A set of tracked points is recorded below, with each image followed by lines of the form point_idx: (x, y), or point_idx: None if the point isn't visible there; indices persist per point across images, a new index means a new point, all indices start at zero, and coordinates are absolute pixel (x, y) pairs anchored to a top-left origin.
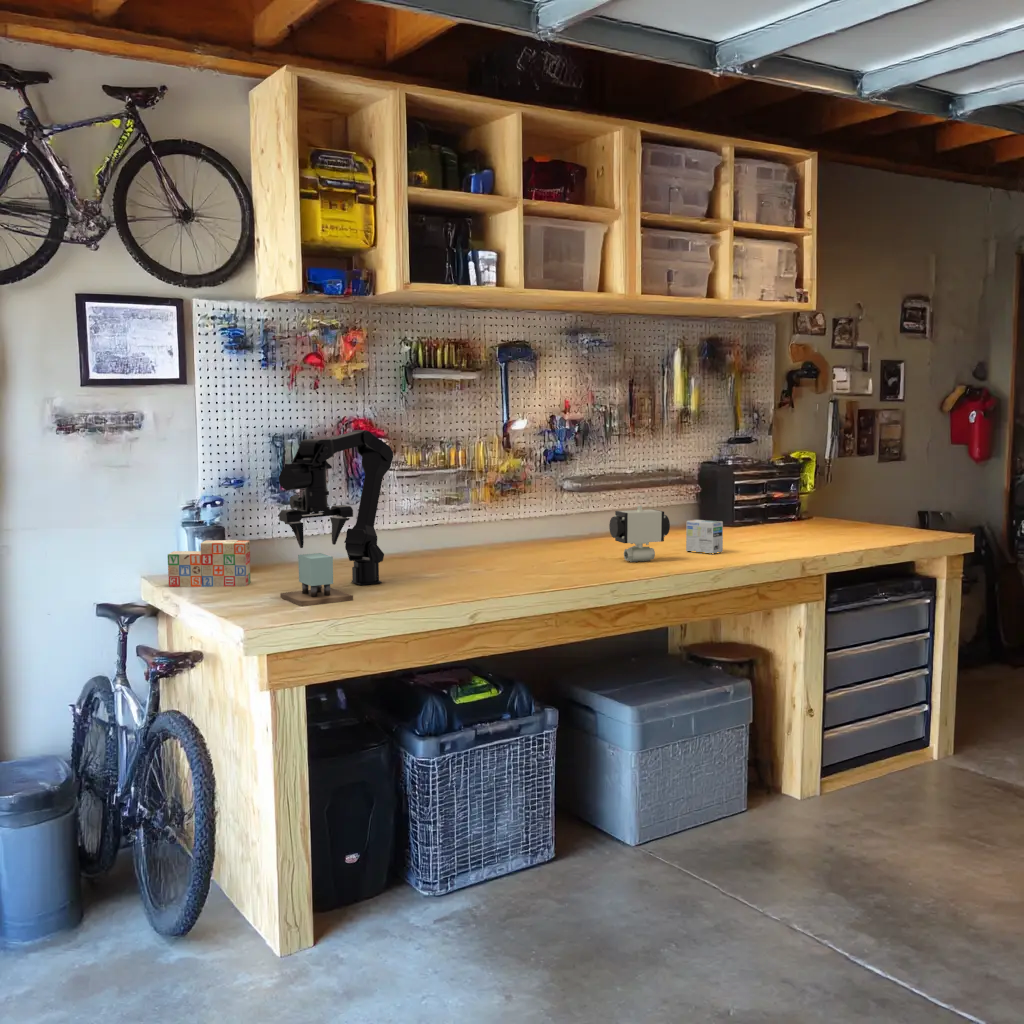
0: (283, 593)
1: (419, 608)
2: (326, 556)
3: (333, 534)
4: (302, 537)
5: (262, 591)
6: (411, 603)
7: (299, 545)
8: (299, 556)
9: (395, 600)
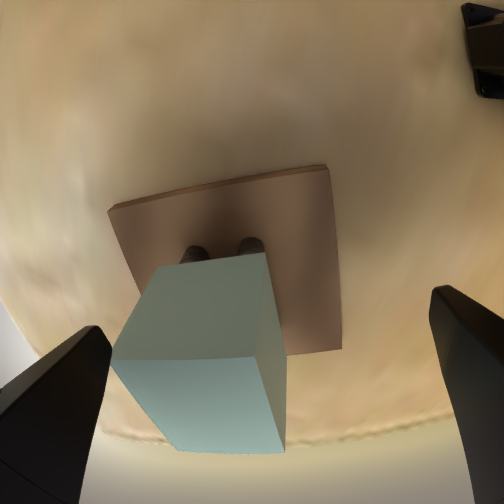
0: (118, 223)
1: (406, 428)
2: (257, 445)
3: (473, 390)
4: (84, 444)
5: (67, 52)
6: (427, 397)
7: (77, 340)
8: (118, 366)
9: (426, 368)
